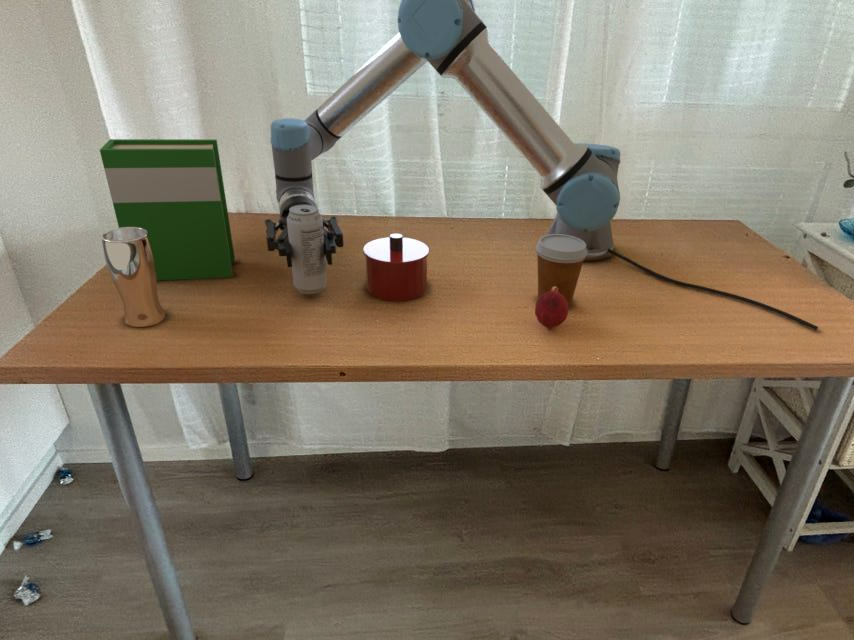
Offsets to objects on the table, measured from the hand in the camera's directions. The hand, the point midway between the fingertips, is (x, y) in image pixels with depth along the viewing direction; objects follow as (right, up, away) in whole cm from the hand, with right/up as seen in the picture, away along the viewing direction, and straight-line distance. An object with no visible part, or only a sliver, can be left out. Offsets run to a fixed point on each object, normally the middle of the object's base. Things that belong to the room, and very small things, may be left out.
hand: (309, 258), depth 110 cm
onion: (+41, -12, +3) cm, 43 cm away
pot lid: (+14, +3, +10) cm, 17 cm away
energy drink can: (-2, -4, +8) cm, 10 cm away
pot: (+13, -3, +14) cm, 19 cm away
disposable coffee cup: (+43, -6, +12) cm, 46 cm away
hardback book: (-28, 0, +14) cm, 31 cm away
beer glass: (-27, -11, -2) cm, 29 cm away
